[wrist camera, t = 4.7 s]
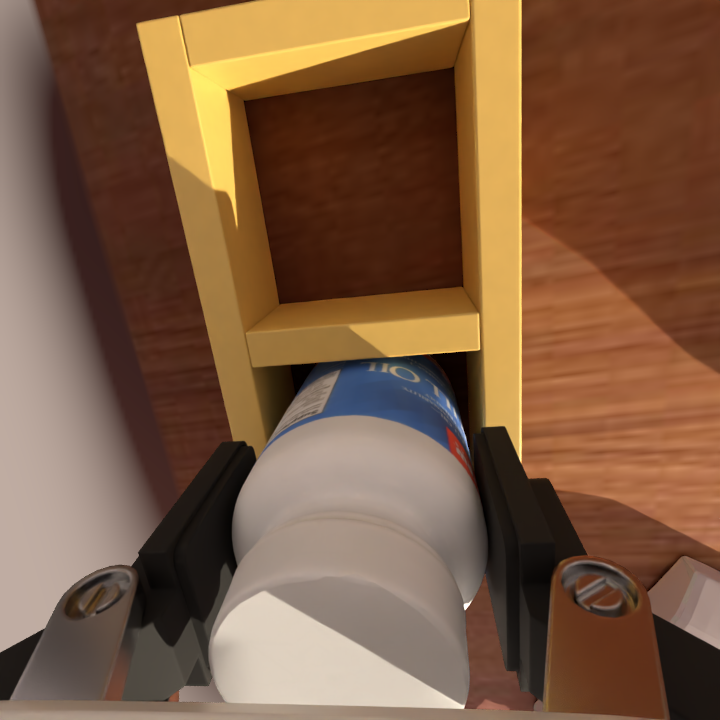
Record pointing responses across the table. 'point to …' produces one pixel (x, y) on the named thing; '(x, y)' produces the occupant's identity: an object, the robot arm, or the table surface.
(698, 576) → the grey electronic device
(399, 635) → the pill bottle
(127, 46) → the table surface
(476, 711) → the robot arm
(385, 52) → the bottle holder
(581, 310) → the table surface
